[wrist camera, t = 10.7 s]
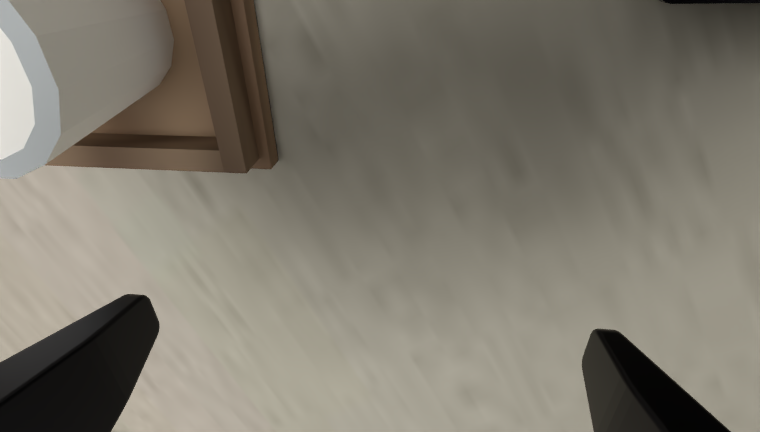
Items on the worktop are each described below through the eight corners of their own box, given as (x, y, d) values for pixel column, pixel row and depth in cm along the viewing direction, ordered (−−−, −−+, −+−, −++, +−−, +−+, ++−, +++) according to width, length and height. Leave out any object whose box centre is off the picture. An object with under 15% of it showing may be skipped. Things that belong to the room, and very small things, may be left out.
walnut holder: (226, -172, 14) (189, -194, 12) (278, 160, 20) (259, 184, 18) (-89, -156, 15) (-173, -173, 13) (51, 151, 22) (10, 173, 20)
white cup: (194, 123, 19) (82, 202, 13) (44, 92, 19) (-136, 156, 13) (181, -58, 15) (16, -64, 9) (-6, -97, 15) (-289, -128, 9)
